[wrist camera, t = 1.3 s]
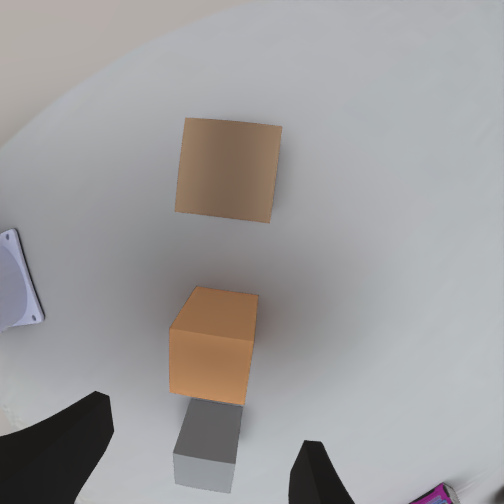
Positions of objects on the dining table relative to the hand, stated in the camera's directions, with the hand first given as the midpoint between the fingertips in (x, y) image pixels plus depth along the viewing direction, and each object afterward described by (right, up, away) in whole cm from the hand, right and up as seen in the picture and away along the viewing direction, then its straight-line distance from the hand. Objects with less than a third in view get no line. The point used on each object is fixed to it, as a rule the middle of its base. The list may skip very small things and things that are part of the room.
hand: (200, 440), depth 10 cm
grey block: (-1, -7, +13) cm, 15 cm away
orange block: (0, +2, +11) cm, 11 cm away
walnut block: (+1, +11, +9) cm, 14 cm away
